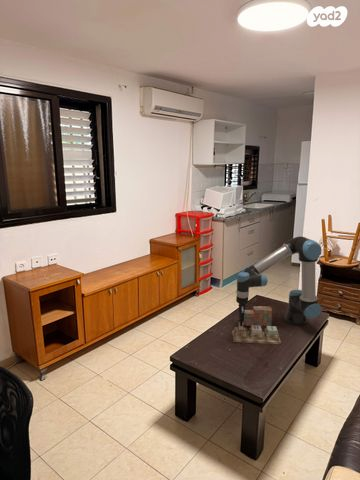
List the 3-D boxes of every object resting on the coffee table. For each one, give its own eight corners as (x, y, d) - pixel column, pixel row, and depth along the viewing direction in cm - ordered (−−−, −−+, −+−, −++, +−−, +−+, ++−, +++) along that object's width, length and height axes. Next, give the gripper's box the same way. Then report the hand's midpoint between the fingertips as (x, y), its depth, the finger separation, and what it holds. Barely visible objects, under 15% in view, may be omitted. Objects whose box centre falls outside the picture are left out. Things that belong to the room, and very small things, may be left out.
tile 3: (244, 333, 218) (244, 328, 217) (245, 337, 212) (245, 332, 212) (235, 332, 219) (235, 327, 218) (236, 337, 213) (236, 332, 212)
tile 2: (260, 330, 217) (260, 325, 216) (261, 335, 211) (261, 329, 210) (250, 329, 217) (251, 324, 216) (251, 334, 211) (252, 329, 211)
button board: (277, 334, 219) (277, 328, 218) (280, 344, 208) (281, 337, 207) (232, 332, 222) (232, 325, 221) (233, 341, 211) (233, 334, 209)
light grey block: (275, 331, 216) (275, 326, 215) (277, 335, 210) (277, 330, 209) (266, 330, 216) (266, 325, 215) (267, 335, 210) (268, 330, 210)
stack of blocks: (241, 325, 232) (241, 309, 229) (239, 321, 238) (240, 305, 235) (271, 326, 231) (272, 310, 228) (269, 322, 237) (270, 306, 234)
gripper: (235, 292, 216) (234, 324, 221) (237, 300, 203) (235, 334, 209) (247, 292, 215) (245, 325, 221) (249, 300, 202) (247, 335, 208)
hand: (240, 329), depth 215 cm, fingers closed
